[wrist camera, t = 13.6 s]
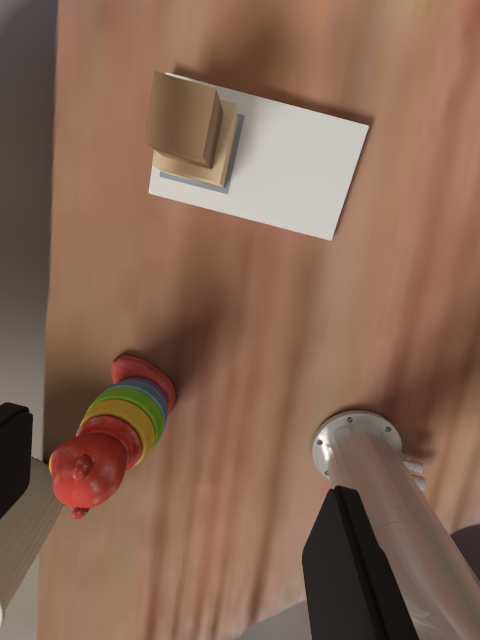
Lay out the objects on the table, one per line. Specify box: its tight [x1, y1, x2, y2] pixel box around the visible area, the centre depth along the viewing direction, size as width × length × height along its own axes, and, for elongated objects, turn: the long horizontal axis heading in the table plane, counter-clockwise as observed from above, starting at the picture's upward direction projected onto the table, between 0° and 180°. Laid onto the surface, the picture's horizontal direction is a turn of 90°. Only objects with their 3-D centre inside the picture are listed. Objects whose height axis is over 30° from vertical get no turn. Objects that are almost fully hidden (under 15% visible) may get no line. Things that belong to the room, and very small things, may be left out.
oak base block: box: [152, 100, 239, 188], centre depth 31 cm, size 7×7×4 cm
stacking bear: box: [49, 355, 176, 519], centre depth 35 cm, size 11×10×18 cm
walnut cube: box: [144, 71, 224, 170], centre depth 26 cm, size 5×5×5 cm
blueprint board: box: [149, 72, 369, 240], centre depth 33 cm, size 22×12×1 cm, turn 76°
